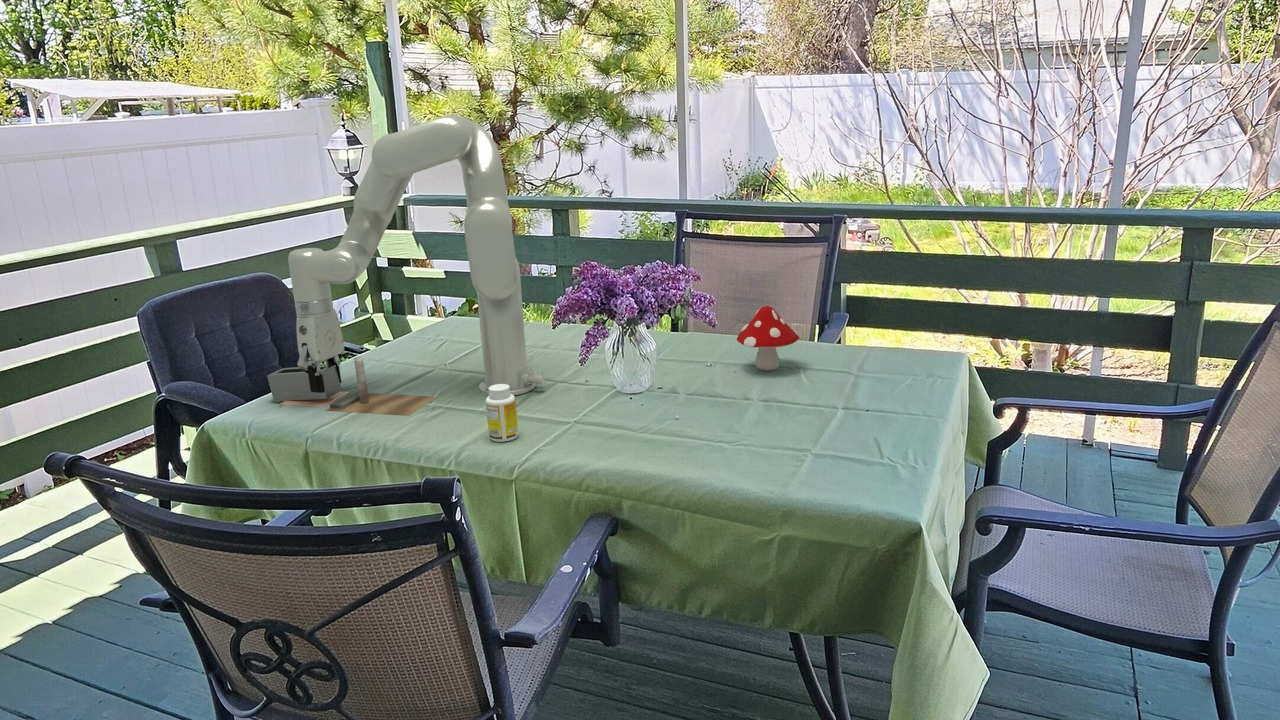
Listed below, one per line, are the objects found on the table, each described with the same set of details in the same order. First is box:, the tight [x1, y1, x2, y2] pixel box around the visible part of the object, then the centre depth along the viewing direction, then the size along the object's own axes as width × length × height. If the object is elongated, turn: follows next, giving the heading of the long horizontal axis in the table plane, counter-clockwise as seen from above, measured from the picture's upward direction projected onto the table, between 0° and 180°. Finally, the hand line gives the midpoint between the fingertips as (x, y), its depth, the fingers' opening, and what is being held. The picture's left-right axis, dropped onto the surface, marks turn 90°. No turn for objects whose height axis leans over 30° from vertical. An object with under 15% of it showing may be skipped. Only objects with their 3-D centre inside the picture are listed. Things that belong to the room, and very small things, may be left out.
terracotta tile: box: [279, 390, 350, 408], centre depth 198 cm, size 11×10×1 cm
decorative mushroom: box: [736, 305, 800, 372], centre depth 203 cm, size 14×14×15 cm
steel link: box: [266, 364, 342, 402], centre depth 197 cm, size 14×5×6 cm, turn 73°
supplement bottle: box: [485, 384, 519, 443], centre depth 170 cm, size 6×6×10 cm
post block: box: [325, 356, 438, 417], centre depth 191 cm, size 20×12×11 cm, turn 73°
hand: (326, 386), depth 196 cm, fingers closed on steel link, 5 cm apart
